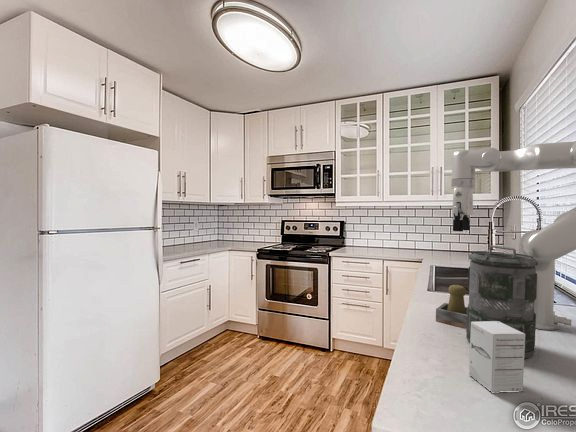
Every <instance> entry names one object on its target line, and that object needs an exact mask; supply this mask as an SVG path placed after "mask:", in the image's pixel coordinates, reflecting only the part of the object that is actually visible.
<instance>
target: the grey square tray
mask: <svg viewBox="0 0 576 432" xmlns="http://www.w3.org/2000/svg"><path fill="white" fill-rule="evenodd" d="M448 304H449V302H444V303H443V304H441V305H439V306H438V307H437V308H436V309H435V322H437V323H441V324H446V325H450V326H454V327H459V328H462V329H466V324H467V307H468V306H465V313H466V314H461V313H457V312H452V311H447V309H448Z"/></svg>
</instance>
